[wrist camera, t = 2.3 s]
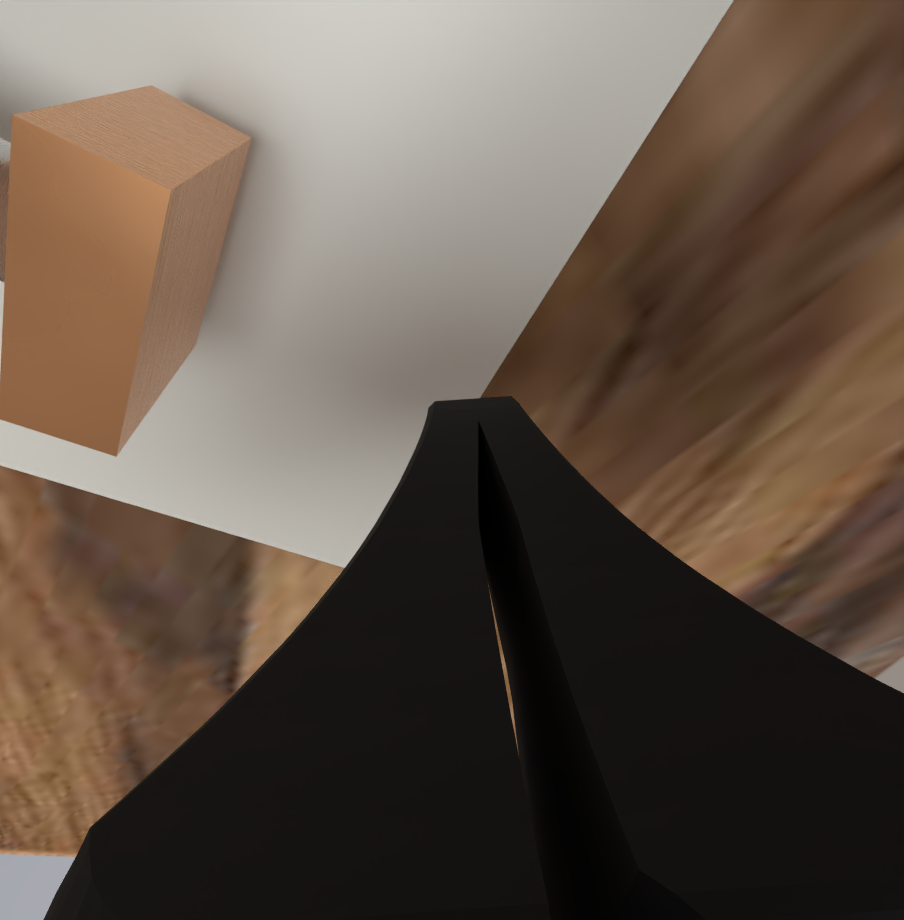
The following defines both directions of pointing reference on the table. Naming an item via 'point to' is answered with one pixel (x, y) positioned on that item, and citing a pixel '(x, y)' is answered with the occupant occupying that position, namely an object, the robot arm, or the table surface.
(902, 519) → the table surface
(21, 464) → the mounting plate
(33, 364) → the shaft
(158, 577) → the table surface
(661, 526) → the table surface
